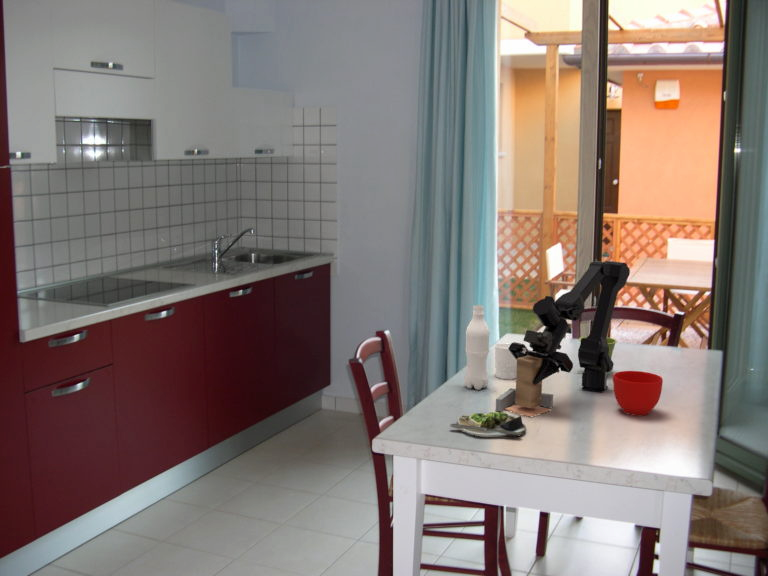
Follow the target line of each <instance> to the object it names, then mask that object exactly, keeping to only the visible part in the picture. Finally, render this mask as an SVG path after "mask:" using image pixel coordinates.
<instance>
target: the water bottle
mask: <svg viewBox="0 0 768 576" xmlns="http://www.w3.org/2000/svg"><path fill="white" fill-rule="evenodd" d="M484 315H485V311H484V305H481V304H475V305H473V310H472V318H471V320H470V322H469V324H468V325H467V327H466V330H465V350H464V351H465V354H466V362H467V363H466V370H465V374H464V384H465V386H466V387H467V388H468V389H473V387H474V389H475V390H478V391H479V390H481V389H485V388H487V385H488V382H489V376H488V371H487V359H488V356H489V352H490V334H491V332H490V328H489V327H488V326H489V325H488V324H487V322H486V320H485V317H484Z"/></svg>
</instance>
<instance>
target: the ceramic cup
mask: <svg viewBox="0 0 768 576" xmlns="http://www.w3.org/2000/svg"><path fill="white" fill-rule="evenodd" d="M663 381H664V380H663V378H662V376H660V375H658V374H656V373H651V372H647V371H641V370H640V371H639V370H622V371H617V372H615V373H614V374H613V375H612V383H613V392H614V397H615V400H616V402H617V404H618V405H619V407H620V408H621V410H622V411H623V412H624V413H625V412H626V413H625V414H627V413H629V414H628V415H631V414H634V415H633V416H638V415H642V416H646V414H647V415H648V414H649V413H650V412H652V411H653V409H654V408H655V407H656V406H657V405H658V403H659V401H660V398H661V394H662V390H663Z"/></svg>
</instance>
